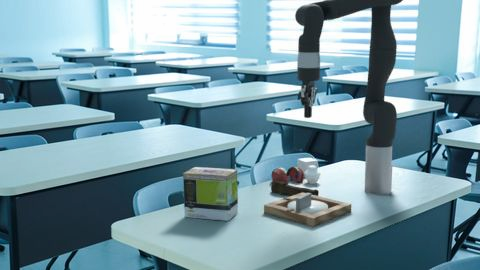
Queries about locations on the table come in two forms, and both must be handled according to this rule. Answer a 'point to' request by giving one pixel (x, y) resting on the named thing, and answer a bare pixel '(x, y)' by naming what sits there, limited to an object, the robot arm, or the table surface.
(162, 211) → the table surface
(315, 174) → the white fluted cup
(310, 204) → the dial
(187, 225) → the table surface
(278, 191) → the hand tool
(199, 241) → the table surface
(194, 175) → the tea box
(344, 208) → the wooden frame
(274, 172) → the teeth model
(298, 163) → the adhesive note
